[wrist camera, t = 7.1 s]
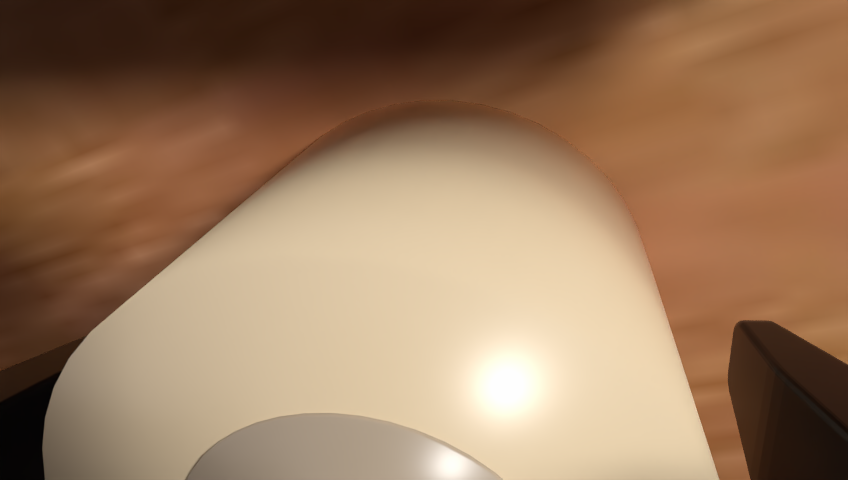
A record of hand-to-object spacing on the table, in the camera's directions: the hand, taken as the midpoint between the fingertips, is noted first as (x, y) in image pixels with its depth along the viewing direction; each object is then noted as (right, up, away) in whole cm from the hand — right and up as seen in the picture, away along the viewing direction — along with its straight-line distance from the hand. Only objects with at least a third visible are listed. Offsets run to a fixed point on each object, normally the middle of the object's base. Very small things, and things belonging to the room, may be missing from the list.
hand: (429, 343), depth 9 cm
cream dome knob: (0, +1, +1) cm, 1 cm away
